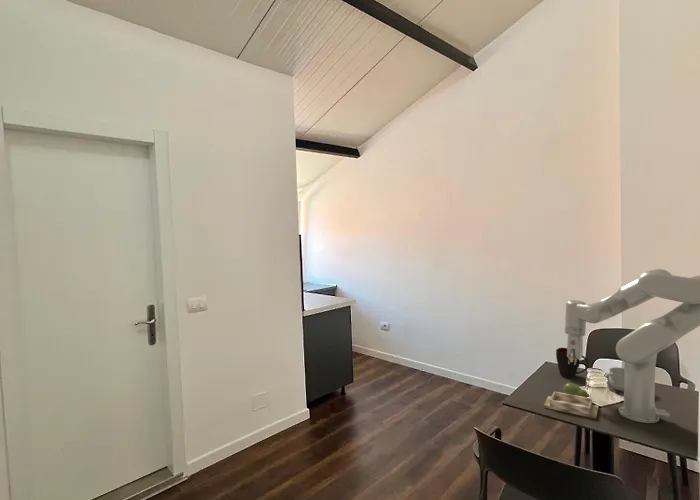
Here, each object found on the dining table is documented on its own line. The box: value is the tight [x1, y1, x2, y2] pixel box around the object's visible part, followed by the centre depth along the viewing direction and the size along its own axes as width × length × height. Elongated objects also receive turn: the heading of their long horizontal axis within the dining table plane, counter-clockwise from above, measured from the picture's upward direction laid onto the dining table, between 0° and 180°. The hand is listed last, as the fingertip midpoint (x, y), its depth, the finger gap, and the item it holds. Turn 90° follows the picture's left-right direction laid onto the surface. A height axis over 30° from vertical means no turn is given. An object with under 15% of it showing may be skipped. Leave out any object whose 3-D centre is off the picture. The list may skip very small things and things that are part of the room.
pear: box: [563, 382, 590, 398], centre depth 174 cm, size 6×5×10 cm
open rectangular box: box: [543, 391, 599, 419], centre depth 164 cm, size 18×10×4 cm, turn 55°
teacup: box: [604, 366, 624, 393], centre depth 181 cm, size 14×11×8 cm
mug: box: [555, 347, 590, 379], centre depth 197 cm, size 10×14×12 cm
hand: (573, 370), depth 175 cm, fingers open, 9 cm apart
